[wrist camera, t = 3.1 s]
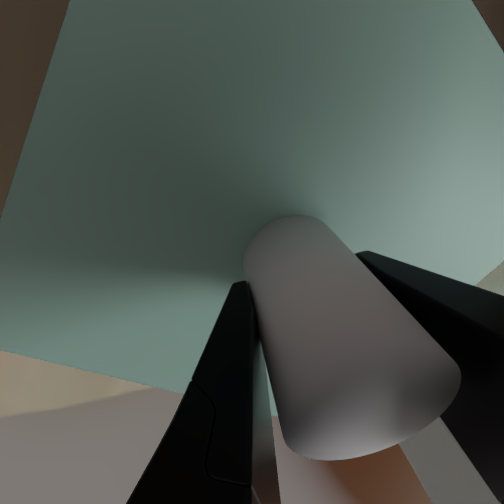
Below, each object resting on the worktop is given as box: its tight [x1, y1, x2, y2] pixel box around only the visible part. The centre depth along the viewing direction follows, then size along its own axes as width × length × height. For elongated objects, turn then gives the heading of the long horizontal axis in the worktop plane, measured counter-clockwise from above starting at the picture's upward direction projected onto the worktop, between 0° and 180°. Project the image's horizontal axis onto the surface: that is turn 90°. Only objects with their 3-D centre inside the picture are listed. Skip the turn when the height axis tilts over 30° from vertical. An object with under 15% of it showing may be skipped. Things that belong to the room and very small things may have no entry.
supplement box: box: [399, 416, 501, 504], centre depth 21 cm, size 7×7×13 cm
